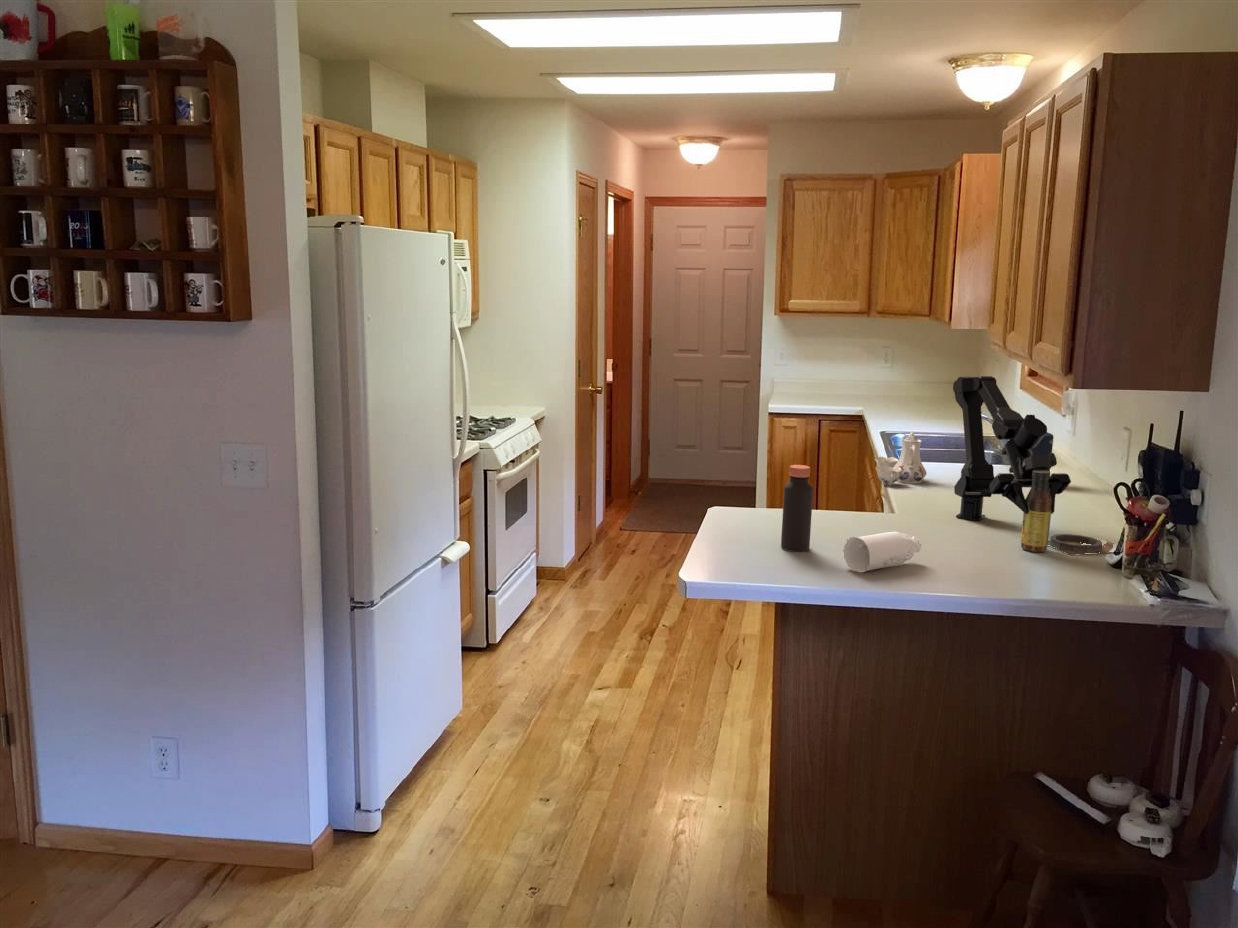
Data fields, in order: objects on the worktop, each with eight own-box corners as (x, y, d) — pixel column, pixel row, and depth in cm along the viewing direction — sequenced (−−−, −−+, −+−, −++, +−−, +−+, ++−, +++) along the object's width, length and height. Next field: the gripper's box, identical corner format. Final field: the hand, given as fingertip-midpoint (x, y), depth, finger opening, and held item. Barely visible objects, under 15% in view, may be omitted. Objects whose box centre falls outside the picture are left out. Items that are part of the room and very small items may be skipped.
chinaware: (869, 475, 353) (867, 427, 351) (920, 473, 351) (919, 424, 348) (878, 493, 326) (876, 440, 323) (933, 490, 324) (931, 437, 321)
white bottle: (927, 566, 240) (930, 533, 238) (866, 576, 230) (869, 541, 229) (901, 557, 247) (904, 525, 245) (841, 567, 237) (844, 533, 235)
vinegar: (775, 545, 254) (780, 464, 250) (799, 543, 257) (804, 463, 253) (790, 552, 248) (795, 470, 244) (814, 550, 250) (820, 468, 247)
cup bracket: (1099, 539, 268) (1100, 532, 268) (1133, 552, 257) (1134, 544, 256) (1039, 542, 264) (1039, 534, 263) (1070, 555, 252) (1071, 547, 252)
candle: (1021, 480, 344) (1027, 426, 340) (1051, 484, 338) (1057, 429, 335) (1013, 484, 336) (1018, 429, 333) (1044, 488, 331) (1050, 432, 327)
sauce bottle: (1026, 545, 261) (1035, 466, 257) (1051, 550, 256) (1060, 470, 253) (1014, 549, 256) (1023, 469, 253) (1039, 554, 252) (1049, 474, 248)
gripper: (999, 440, 254) (1018, 495, 245) (1071, 441, 257) (1092, 495, 248) (981, 466, 263) (998, 519, 254) (1050, 466, 266) (1070, 519, 257)
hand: (1040, 513), depth 253 cm, fingers closed on sauce bottle, 6 cm apart
